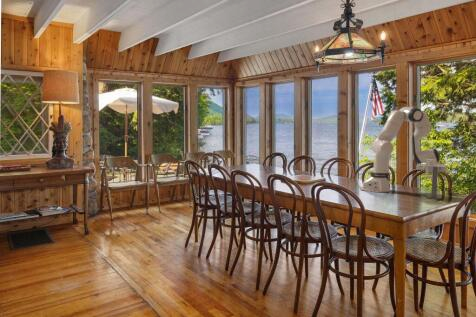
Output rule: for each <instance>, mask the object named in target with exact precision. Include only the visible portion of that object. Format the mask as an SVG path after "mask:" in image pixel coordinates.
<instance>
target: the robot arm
mask: <svg viewBox="0 0 476 317" xmlns="http://www.w3.org/2000/svg"><path fill="white" fill-rule="evenodd" d="M404 122H410V123H413V124H414V132H413V133H412V134H411V136H412V137H411V138H412V142H411V143H412V153H413V154H412V160H413V162H414V163H416V167H415V168H416V170H417V171H419V170H420V171H426V164H423V163H426V159H433V160H435V166H436V167H438V173H445V172H447V165H446V163H444V162H440V160H441V158H440V157H441V156H440V154H439V152H438V150H437V149H435V148H429V149H423V150H419V141H420V140H422V139H423V138H425V137H426V136H428V135H429V134H430V133H431V130H432V124H431V122H430V119H429V116H428V114H427V113H426V111H424V110H421V109H420V108H418V107H413V106H401V107H400V108H399V107H398V109H397V110H393V111H392V113H390V114H389V116H388V118H387V120H386V122H385V123H384V124H383V127H382V128H381V131H380V133H379V134H378V135H377V137H376V138H375V140H374V141H373V142H372V143H371V145H370V149H371V150H372V152H373V153H374V154H375V158H374V161H373V171H371V172H370V177H368V178H366V179H365V180H364V181H363V182H362V186H361V187H359V190H360V191H365V192H373V193H386V192H388V193H389V192H391V189H390V182H389V181H390V171H389V170H390V160H391V155H392V153H393V151H394V146H393V143H391V142H392V141H393V140H394V139H395V138H396V137H397V135H398V133H399V131H400V129H401V127H402V125H403V123H404ZM432 170H433V162H429V166H428V173H431V174H432Z"/></svg>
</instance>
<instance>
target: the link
mask: <svg viewBox="0 0 476 317" xmlns="http://www.w3.org/2000/svg"><path fill="white" fill-rule="evenodd" d="M429 162H433V166H435V160H433V159H426V162H425V165H426V170H425V176H424V177H425V178H424V179H428V180H429V179H430V180H432V174H433V170H432V173H431V175H429V172H428V166H429Z"/></svg>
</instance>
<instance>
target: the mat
mask: <svg viewBox="0 0 476 317" xmlns="http://www.w3.org/2000/svg"><path fill="white" fill-rule="evenodd" d="M418 195H419V196H424V197H427V195H432V192H431V193H429V192H420V193H419V194H418Z"/></svg>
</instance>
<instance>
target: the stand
mask: <svg viewBox="0 0 476 317" xmlns="http://www.w3.org/2000/svg"><path fill="white" fill-rule="evenodd" d="M438 173H439V172H438V167H436V166H433V174H432V173H431V176H432V179H431V193H432V195H427V196H426V199H429V200H431V199H432V200H442V198H443V195H439V194H438V179H439V176H438V175H439V174H438Z"/></svg>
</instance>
